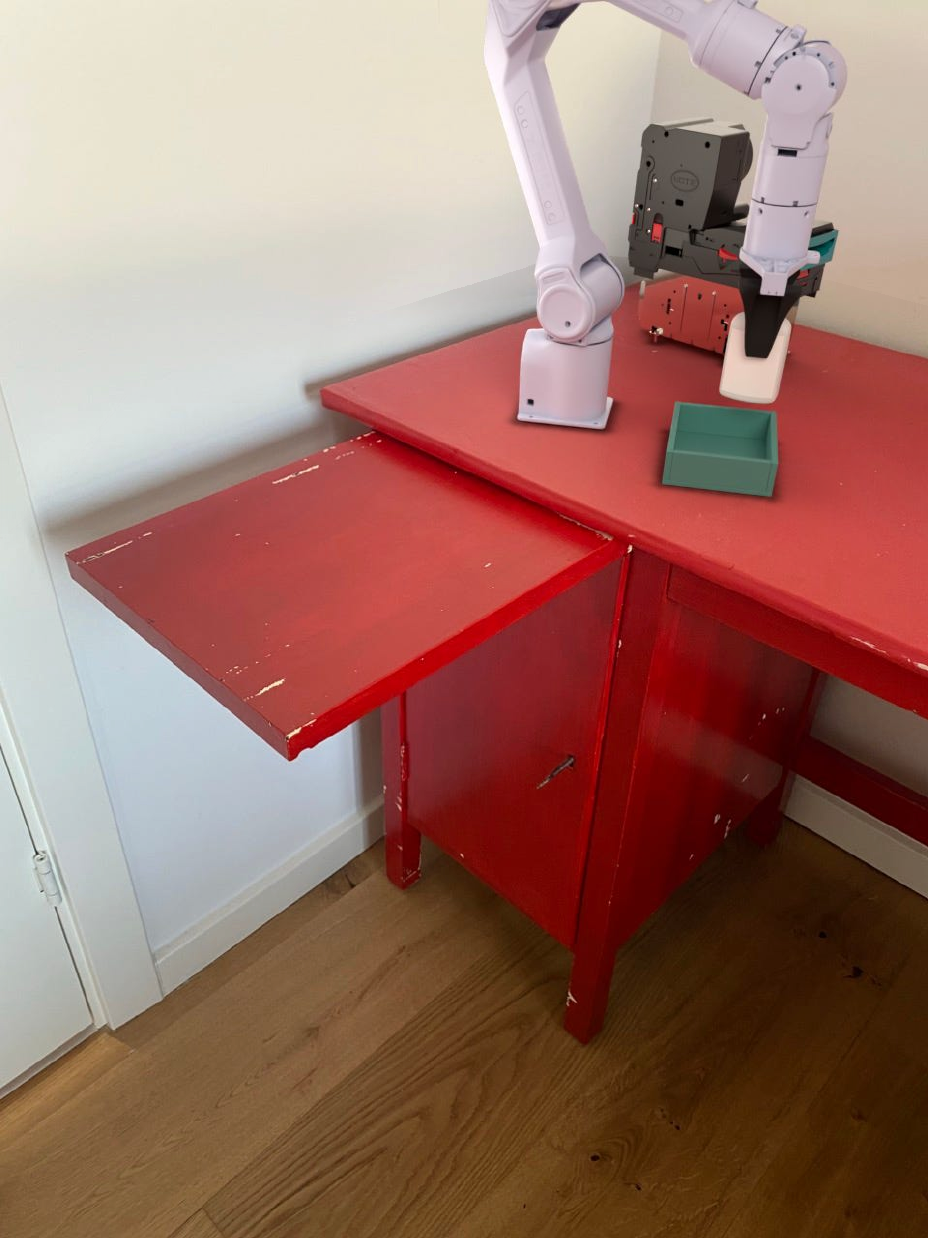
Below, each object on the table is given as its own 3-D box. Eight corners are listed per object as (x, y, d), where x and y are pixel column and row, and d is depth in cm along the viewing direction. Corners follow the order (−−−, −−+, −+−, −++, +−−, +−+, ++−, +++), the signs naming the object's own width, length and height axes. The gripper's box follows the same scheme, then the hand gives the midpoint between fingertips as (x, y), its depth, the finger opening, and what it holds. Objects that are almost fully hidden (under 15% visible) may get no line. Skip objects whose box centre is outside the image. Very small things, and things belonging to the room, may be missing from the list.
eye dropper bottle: (754, 410, 94) (778, 285, 87) (711, 392, 98) (731, 270, 91) (784, 400, 96) (810, 277, 89) (740, 382, 100) (762, 263, 93)
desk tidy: (661, 484, 93) (666, 451, 91) (671, 432, 103) (675, 401, 101) (771, 497, 91) (778, 463, 89) (770, 442, 101) (776, 411, 99)
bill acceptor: (768, 379, 115) (813, 148, 101) (615, 331, 129) (636, 121, 114) (813, 357, 121) (862, 136, 107) (663, 314, 135) (688, 112, 120)
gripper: (836, 222, 80) (802, 380, 88) (826, 185, 91) (796, 327, 99) (748, 216, 81) (722, 372, 89) (749, 180, 93) (725, 322, 101)
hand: (756, 348), depth 94 cm, fingers closed on eye dropper bottle, 3 cm apart
